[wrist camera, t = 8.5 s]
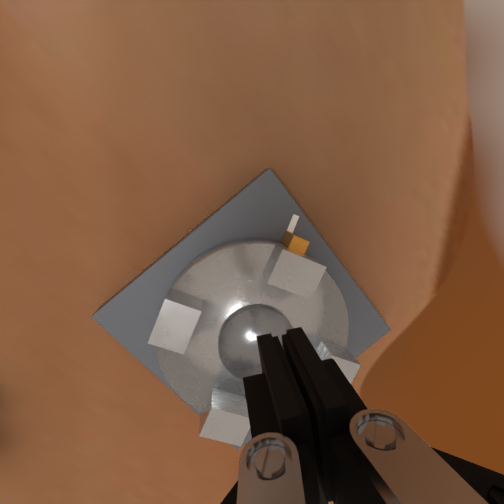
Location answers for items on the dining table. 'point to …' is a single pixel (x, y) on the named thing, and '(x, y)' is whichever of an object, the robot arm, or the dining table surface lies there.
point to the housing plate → (218, 232)
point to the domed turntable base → (244, 324)
